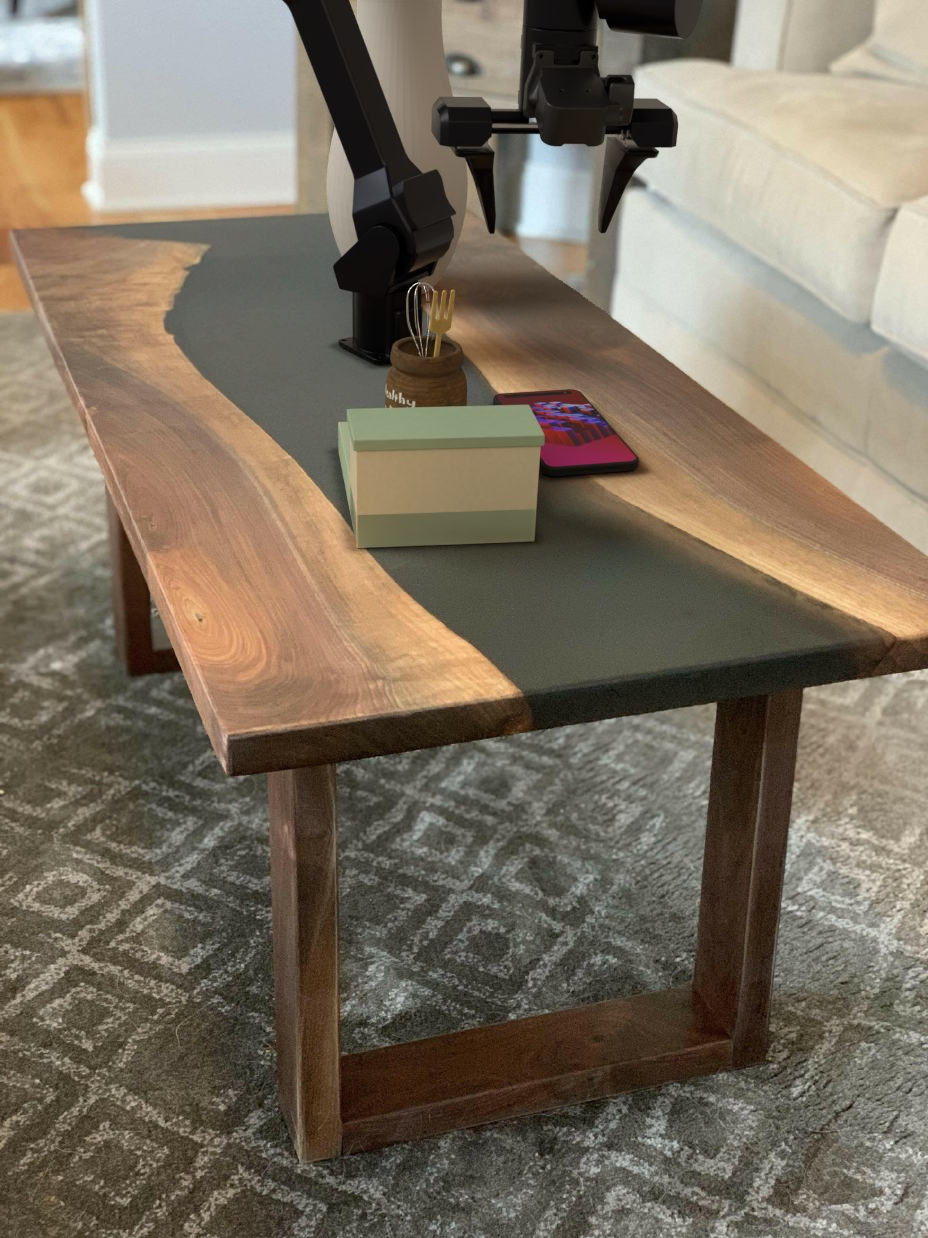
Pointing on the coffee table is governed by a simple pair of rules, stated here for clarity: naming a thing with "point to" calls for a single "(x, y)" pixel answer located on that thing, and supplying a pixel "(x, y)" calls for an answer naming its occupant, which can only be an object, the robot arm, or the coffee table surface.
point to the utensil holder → (427, 364)
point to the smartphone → (573, 434)
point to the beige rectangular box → (441, 474)
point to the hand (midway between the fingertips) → (546, 232)
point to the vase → (403, 110)
